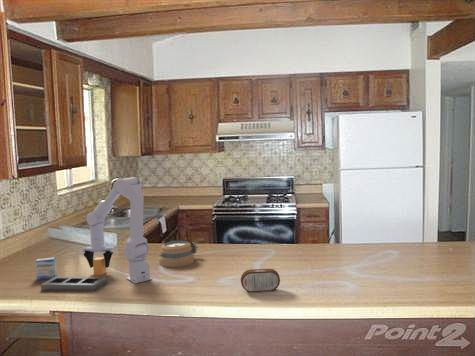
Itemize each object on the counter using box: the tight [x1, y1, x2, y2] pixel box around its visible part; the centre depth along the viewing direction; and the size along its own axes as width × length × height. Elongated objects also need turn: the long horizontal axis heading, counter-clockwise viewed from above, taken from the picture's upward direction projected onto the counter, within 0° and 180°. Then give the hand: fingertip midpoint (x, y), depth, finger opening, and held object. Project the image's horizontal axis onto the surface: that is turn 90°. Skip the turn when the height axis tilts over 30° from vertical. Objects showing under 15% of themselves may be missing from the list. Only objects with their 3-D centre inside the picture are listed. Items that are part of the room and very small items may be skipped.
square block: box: [92, 256, 107, 276], centre depth 188 cm, size 4×4×7 cm
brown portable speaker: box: [240, 268, 281, 293], centre depth 157 cm, size 15×3×8 cm, turn 92°
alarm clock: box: [158, 240, 199, 268], centre depth 203 cm, size 17×9×23 cm
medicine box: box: [35, 256, 58, 281], centre depth 185 cm, size 8×4×9 cm, turn 105°
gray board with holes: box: [40, 276, 108, 292], centre depth 172 cm, size 24×10×2 cm, turn 81°
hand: (99, 267), depth 188 cm, fingers open, 7 cm apart
